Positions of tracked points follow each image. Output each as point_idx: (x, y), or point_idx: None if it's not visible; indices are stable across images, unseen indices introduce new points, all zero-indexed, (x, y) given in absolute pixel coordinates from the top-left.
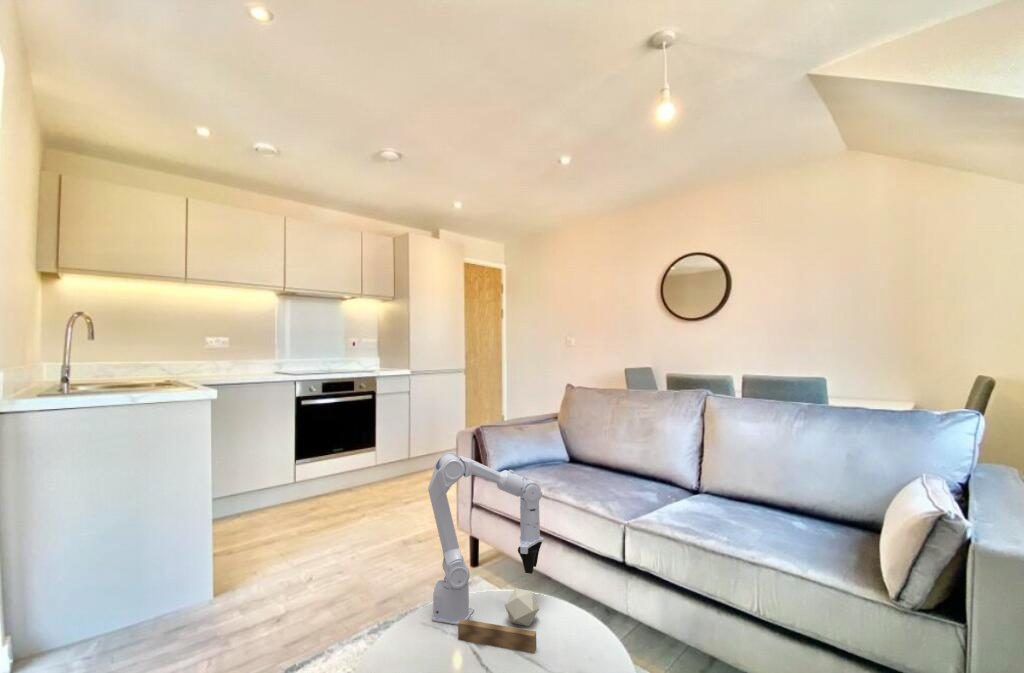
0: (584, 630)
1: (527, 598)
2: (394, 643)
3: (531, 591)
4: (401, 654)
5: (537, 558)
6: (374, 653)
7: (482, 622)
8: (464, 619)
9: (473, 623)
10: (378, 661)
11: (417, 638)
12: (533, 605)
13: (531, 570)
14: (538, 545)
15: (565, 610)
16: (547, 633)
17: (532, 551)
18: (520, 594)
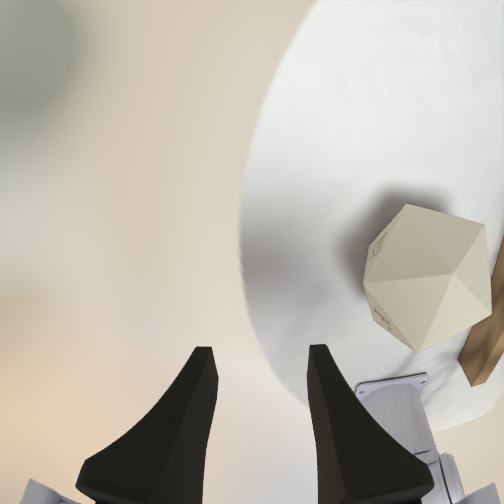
0: (401, 3)
1: (477, 275)
2: (458, 416)
3: (452, 277)
4: (486, 396)
5: (183, 383)
6: (474, 418)
7: (496, 344)
8: (475, 381)
9: (495, 358)
10: (491, 405)
11: (453, 405)
12: (468, 233)
13: (331, 362)
14: (167, 486)
15: (278, 89)
16: (457, 142)
17: (413, 497)
18: (472, 314)
